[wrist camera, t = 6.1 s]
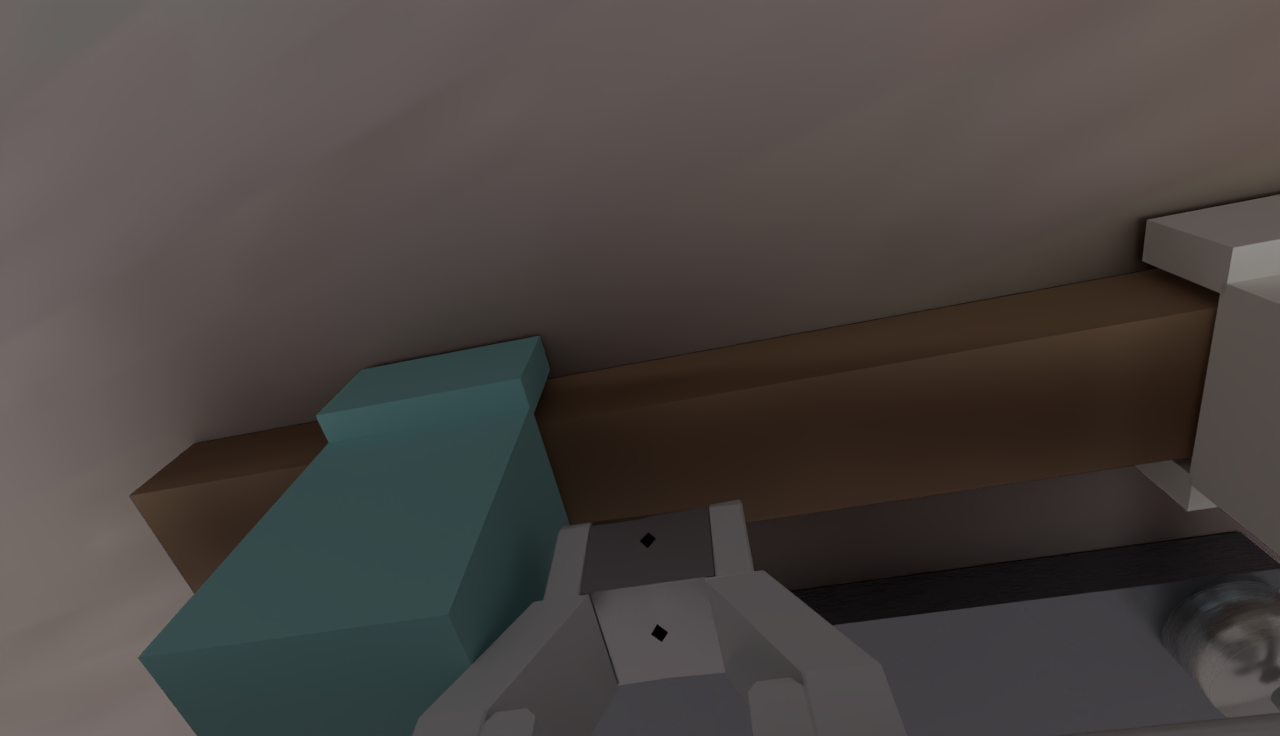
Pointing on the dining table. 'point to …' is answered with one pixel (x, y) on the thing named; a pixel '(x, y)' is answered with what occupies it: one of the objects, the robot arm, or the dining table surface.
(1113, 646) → the bolt plate
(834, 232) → the dining table surface
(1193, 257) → the fixed leg
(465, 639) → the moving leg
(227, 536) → the rail
